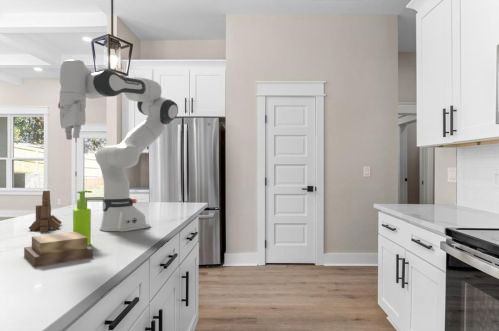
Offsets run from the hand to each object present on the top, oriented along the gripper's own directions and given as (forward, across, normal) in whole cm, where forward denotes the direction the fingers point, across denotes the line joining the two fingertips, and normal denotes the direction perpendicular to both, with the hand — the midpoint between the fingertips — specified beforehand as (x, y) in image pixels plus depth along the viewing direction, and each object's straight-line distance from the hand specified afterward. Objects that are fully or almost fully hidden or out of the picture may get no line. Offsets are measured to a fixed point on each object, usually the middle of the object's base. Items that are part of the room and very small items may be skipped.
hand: (72, 138), depth 130 cm
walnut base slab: (+40, -18, +9) cm, 45 cm away
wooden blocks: (+40, +41, 0) cm, 57 cm away
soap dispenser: (+40, -5, -3) cm, 40 cm away
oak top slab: (+37, -18, +8) cm, 42 cm away
